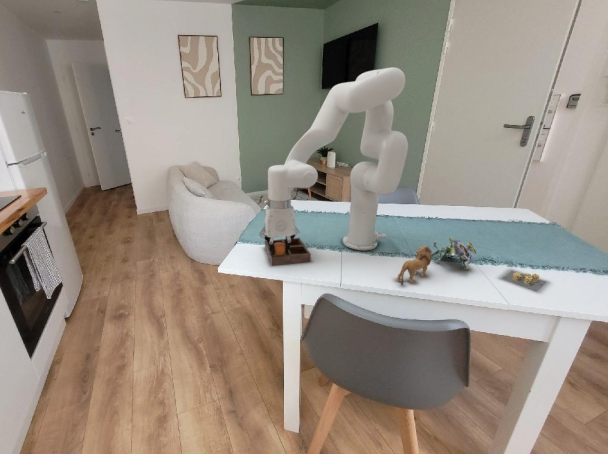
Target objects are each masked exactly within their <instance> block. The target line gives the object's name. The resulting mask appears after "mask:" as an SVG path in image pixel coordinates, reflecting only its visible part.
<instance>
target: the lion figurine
mask: <svg viewBox="0 0 608 454" xmlns="http://www.w3.org/2000/svg"><path fill="white" fill-rule="evenodd" d="M432 252H433V251H432V249H431V248H430V247H429V246H428V245H421V246H420V247H419V248H416V249H415V253H416V257H415V259H408V260H406V261H404V263H403V264H402V267H401V270H400V272H399V274H398V275H397V279H396V281H398V282H400V285H401V286H403V285H404V276H405V273H406V271H408V272H407V273H408V274H409V277H408V279H409V281H410V283H412V284H416V280H415V279H414V276H415V275H416V274H417V273H418V271H421V270H422V271H421V273H420V275H421V276H422V277H427V275H426V272H427V270H428V266H429V265H431V262H432V257H433V256H432V254H433V253H432Z"/></svg>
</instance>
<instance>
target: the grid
mask: <svg viewBox="0 0 608 454" xmlns="http://www.w3.org/2000/svg"><path fill="white" fill-rule="evenodd" d="M285 239H286V238H282V239H281V238H280V239H274V240H273V243H277V242H282V243H284V240H285ZM264 249H265V253H266V254H267V256H268V260H269V263H270V264H271V267H273V266H282V265H291V264H301V263H310V262H311V252H310V251H309V249H308V248H307V247H306V245H305V244H304V242H303V241H302V239H301V237H294V238H293V239H292V240H291V242H290V250H288V253H285V254H284V255H276V254H272V253H271V251H269V242H267V241H266V240H265V241H264Z"/></svg>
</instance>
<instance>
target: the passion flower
mask: <svg viewBox="0 0 608 454" xmlns="http://www.w3.org/2000/svg"><path fill="white" fill-rule="evenodd" d="M449 242H450V245H449V246H445V247H442V248H441V249H439V248H438V247H437V246H436V244H437V243H436V241H435V242H433V248H435V249H437V250H436V251H435V252H433V253H431V254H432V256H431V257H433V256H436V255H437V254H439V257H438V259H437V261H436V263H439V262H440V261H442V260H445V258H447V257H449V258H456V259H457V258H459V260H460V262H459V265H460V267H461V269H462V270H463V271H466V270H469V266H468V265H470V264H472V257H473V255H472V253H473V254H477V251H476V249H475V248H474V246H473V244H472V243H471V242H468V243H467V245H466V246H465V243H463V242H462V241H461V240H458V239H455V240H454V239H453V236H450V237H449ZM470 252H471V253H470Z"/></svg>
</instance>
